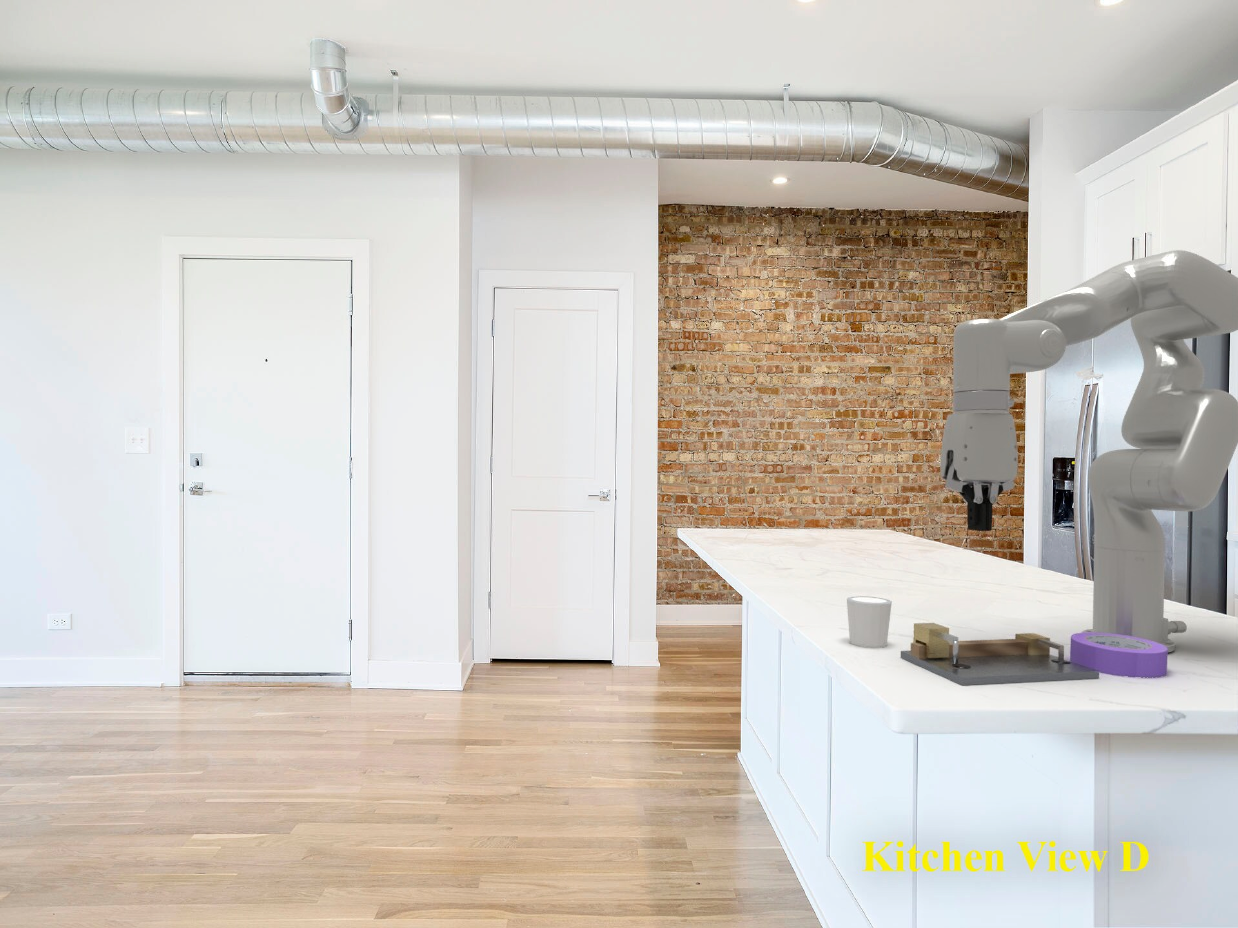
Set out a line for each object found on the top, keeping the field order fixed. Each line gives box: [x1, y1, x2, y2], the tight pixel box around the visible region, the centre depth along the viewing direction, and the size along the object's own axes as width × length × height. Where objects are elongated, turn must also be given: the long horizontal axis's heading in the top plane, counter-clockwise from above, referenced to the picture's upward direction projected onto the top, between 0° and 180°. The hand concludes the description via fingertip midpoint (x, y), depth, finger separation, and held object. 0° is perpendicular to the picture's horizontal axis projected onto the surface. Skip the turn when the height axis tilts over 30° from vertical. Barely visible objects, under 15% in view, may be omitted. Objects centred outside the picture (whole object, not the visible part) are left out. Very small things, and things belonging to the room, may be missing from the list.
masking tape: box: [1069, 632, 1169, 679], centre depth 109 cm, size 12×12×4 cm
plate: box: [900, 649, 1100, 686], centre depth 108 cm, size 21×14×1 cm, turn 102°
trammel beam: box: [910, 632, 1065, 661], centre depth 109 cm, size 21×7×2 cm, turn 102°
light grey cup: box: [846, 595, 893, 649], centre depth 121 cm, size 7×7×7 cm
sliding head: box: [912, 622, 960, 664], centre depth 107 cm, size 3×8×4 cm, turn 12°
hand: (979, 529), depth 111 cm, fingers closed
